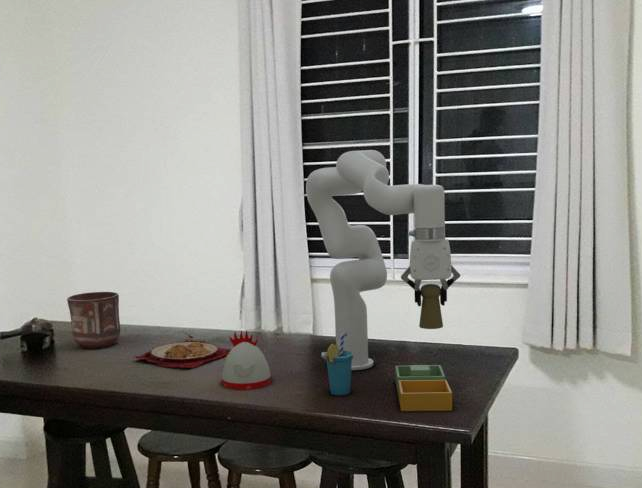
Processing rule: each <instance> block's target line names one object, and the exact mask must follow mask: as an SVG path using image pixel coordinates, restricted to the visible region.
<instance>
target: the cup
mask: <svg viewBox="0 0 642 488" xmlns="http://www.w3.org/2000/svg"><path fill="white" fill-rule="evenodd" d="M345 336H347V334H346V333H345V334H342V335H341V343H340V350H339V349H338V345H336V343H331V344H330V345H329V347H327V351H326V352H327V353H325V358H326V360H325V361H326V367H327V374H328V383H329V390H330V394H331V395H334V396H346V395H348V394H350V393H351V383H352V382H351V379H352V370H351V366H352V359H353V354H352V352H350V351H344V350H343V343H344V337H345Z"/></svg>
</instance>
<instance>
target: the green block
mask: <svg viewBox="0 0 642 488" xmlns="http://www.w3.org/2000/svg"><path fill="white" fill-rule="evenodd" d="M429 365H430V364H411V365H409V366H410V376H430V368H429Z"/></svg>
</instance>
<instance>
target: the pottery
mask: <svg viewBox="0 0 642 488" xmlns="http://www.w3.org/2000/svg"><path fill="white" fill-rule="evenodd" d="M66 300H67V301H66V302H67V305H68V310H69V315H70V323H71V335H72V336H71V337H72V338H73V340H74V342H75V343H76V345H78V346H79V347H81V348H82V349H91V350H92V349H103V348H108V347H111V346H114V345H115V343H116V342H117V341H118V339H119V337H120V335H121V322H120V321H121V319H120V296H119V293H118V292H115V291H92V292H83V293H78V294H73V295H71V296H69V297H67V299H66ZM114 342H115V343H114Z"/></svg>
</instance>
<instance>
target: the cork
mask: <svg viewBox="0 0 642 488" xmlns="http://www.w3.org/2000/svg"><path fill="white" fill-rule="evenodd" d="M420 291H421V306H420V316H419V324H418V325H419V326H418V327H419V328H420V329H424V330H438V329H442V328H443V327H444V323H443V315H442V307H441V304H440V294H441V286H440V285H439V284H436V283H426V284H423V285H421V286H420Z"/></svg>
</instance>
